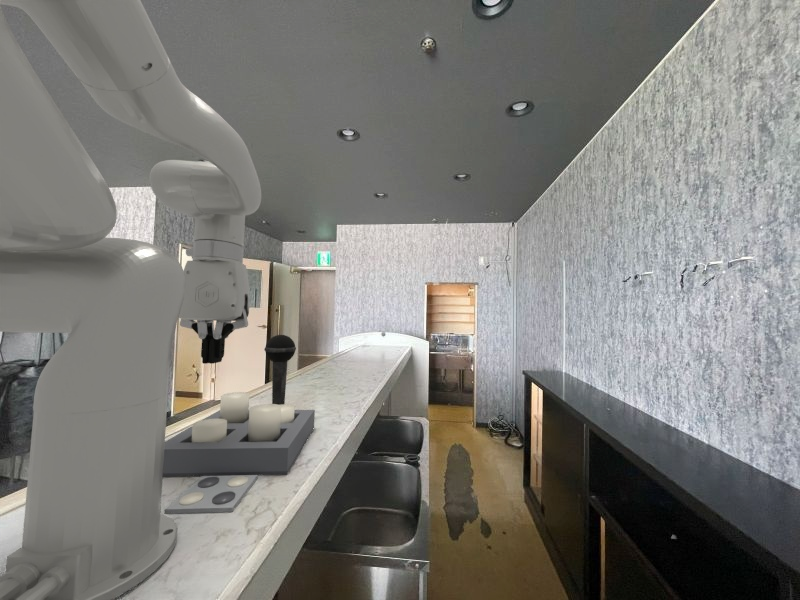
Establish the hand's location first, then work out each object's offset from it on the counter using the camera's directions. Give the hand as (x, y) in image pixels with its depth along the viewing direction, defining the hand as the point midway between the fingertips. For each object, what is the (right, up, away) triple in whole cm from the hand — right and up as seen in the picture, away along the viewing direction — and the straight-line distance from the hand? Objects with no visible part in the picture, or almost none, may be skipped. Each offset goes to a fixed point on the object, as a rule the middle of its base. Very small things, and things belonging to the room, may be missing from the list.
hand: (212, 362), depth 52 cm
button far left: (-1, -13, +9) cm, 16 cm away
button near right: (+9, -13, 0) cm, 16 cm away
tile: (+7, -16, -11) cm, 20 cm away
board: (+4, -17, +4) cm, 18 cm away
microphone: (+4, -18, +18) cm, 26 cm away
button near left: (0, -15, -1) cm, 15 cm away
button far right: (+8, -16, +9) cm, 20 cm away
